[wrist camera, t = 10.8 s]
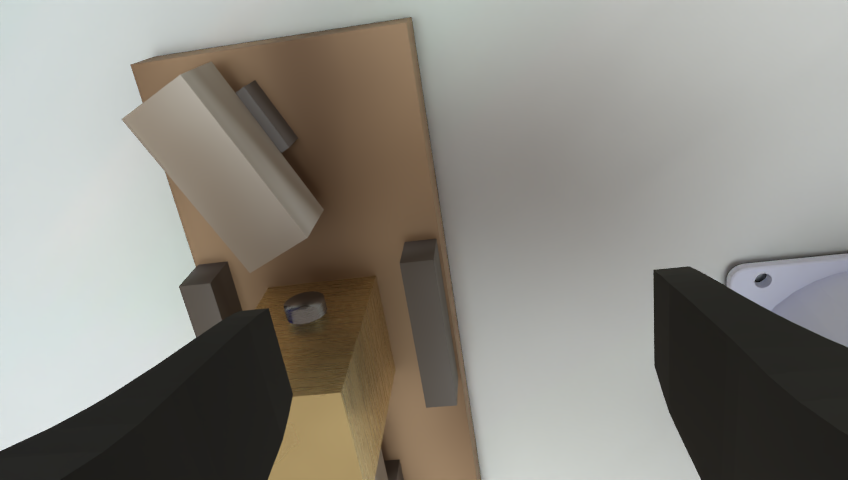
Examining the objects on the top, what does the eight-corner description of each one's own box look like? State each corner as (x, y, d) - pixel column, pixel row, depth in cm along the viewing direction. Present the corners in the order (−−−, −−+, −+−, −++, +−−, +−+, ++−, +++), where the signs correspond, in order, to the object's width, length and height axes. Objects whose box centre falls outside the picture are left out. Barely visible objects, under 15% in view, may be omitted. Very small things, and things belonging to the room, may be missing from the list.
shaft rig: (411, 17, 19) (393, 36, 15) (482, 486, 26) (483, 586, 22) (154, 56, 20) (70, 84, 16) (289, 497, 27) (257, 595, 23)
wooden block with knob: (373, 264, 21) (337, 379, 15) (397, 378, 22) (372, 518, 17) (265, 276, 21) (191, 391, 16) (297, 387, 23) (240, 526, 17)
